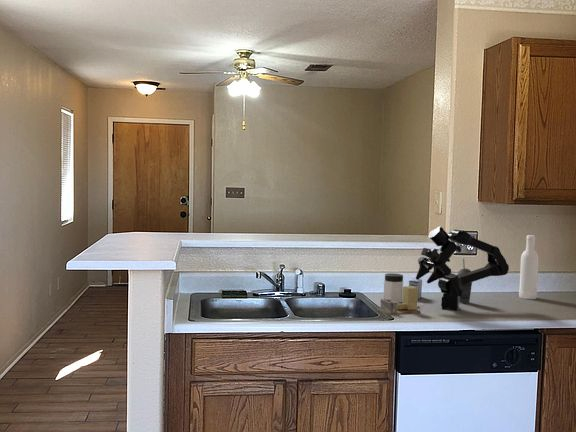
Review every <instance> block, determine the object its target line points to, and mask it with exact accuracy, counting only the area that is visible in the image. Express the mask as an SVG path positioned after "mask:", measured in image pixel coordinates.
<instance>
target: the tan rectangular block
mask: <svg viewBox="0 0 576 432" xmlns="http://www.w3.org/2000/svg"><path fill="white" fill-rule="evenodd" d="M417 295H418V288H416V287H413V286H409V285H405V286H404V285H403V301H402V302H401V303H398V304H397V310H398V309H407V310H414V309H417V310H418V300H417Z"/></svg>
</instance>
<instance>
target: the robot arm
mask: <svg viewBox="0 0 576 432" xmlns="http://www.w3.org/2000/svg"><path fill="white" fill-rule="evenodd" d="M428 238H429V239H430V240H431V241H432V242H433V243H434V244H435V245H436V246H437V247H440V248H439V249H436V248H431V249H430V248H428V247H423V248H422V251H421V253H420V255H421V256H420V257H419V258H418V260H417V262H418V264H419V268H418V271H417V273H416V276H415V278H416V279H417V280H418V279H422V278H423V277H424V276H425V275H427V274H428V273H430V272H431V270H432V269H433V271H432V273H431V274H430V276H429V277H428V278H427V280H426V283H427V284H428V285H429V284H431V283H433V282H435V281H437V280H438V282H437V286H438V288H439V289H440V292H441V294H442V297H441V302H440V303H441V305H440V306H441V309H442V310H449V311H458V310H459V309H460V305H459V296H461V295H462V290H461V289H460V287H461V286H462V285H464V284H467V283H471V282H472V283H473V282H477V281H480V280H482V279H485V278H489V277H502V276H506V275H508V273H509V270H510V266H509V264H508V263H507V260H506V258H505V257H504V256H503V254H502V252H501V249H500V248H499V247H498V246H494V245H492V244H490V243H487V242H485V241H483V240H481V239H477V238H475V237H474V236H472V235H471V234H470V233H468V232H467V231H465V230H461V229H456V228H455V229H453V230H451V231H450V232H446V231H445V230H444V228H443V227H442V226H437V227H436V228H434V229H432V230H431V231H430V232H429V233H428ZM457 244H460V245H466V246H469V247H472V248H473V249H476V250H479V251H482V252H484V253H486V254H487V264H486V265H484V267H480V268H478V269H474V270H470V271H471V272H468V273H464V274H461V275H457V274H456V273H452V268H450V267H449V266H448V265H447V262H448V263H449V262H451V257H452V256H453V254H455V252H456V253H461V252H462V249H461V246H460V245H457Z"/></svg>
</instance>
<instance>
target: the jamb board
mask: <svg viewBox="0 0 576 432" xmlns="http://www.w3.org/2000/svg"><path fill="white" fill-rule="evenodd" d="M397 304H399V303H397V302H391V300H390V299H384V298H381V299H380V306H379V307H380V309H379V311H380V312H383V313H385V314H387V315H389V316H390V315H406V314H420V313H421V310H419V309H418V308H417V309H414V310H407V309H398V310H397Z"/></svg>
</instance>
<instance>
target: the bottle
mask: <svg viewBox="0 0 576 432" xmlns="http://www.w3.org/2000/svg"><path fill="white" fill-rule="evenodd" d="M525 240H526V244H525V245H526V246H525V250H524V251H523V252H522V254H521V255H520V272H519V291H518V297H519V299H525V300H536V299H537V295H538V278H539V276H538V275H539V262H540V261H539V257H540V256H539V255H538V253H537V251H536V250H535V246H536V245H535V243H536V235H533V234H528V235H526V237H525Z"/></svg>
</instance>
